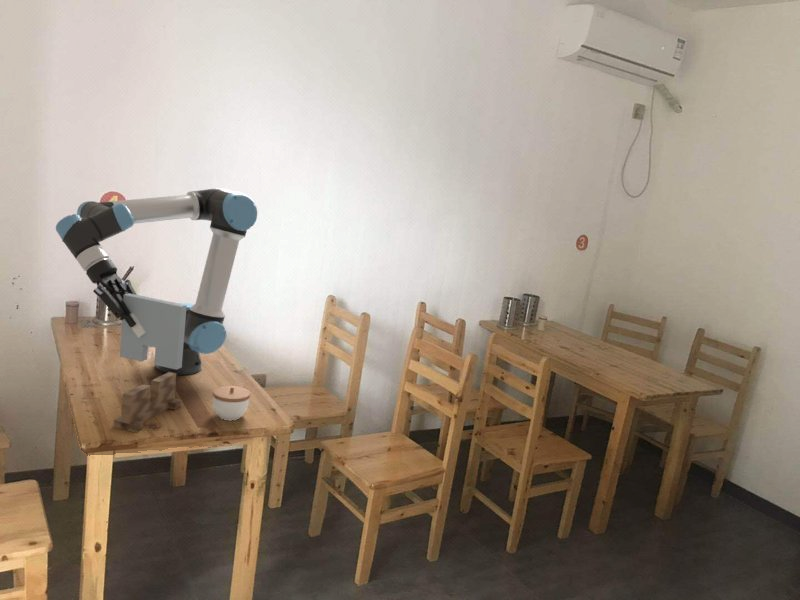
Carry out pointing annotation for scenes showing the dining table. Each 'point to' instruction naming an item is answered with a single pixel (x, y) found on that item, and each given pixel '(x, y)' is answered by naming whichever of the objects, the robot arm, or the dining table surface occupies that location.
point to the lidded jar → (230, 402)
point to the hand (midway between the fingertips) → (146, 333)
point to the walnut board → (147, 402)
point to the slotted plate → (154, 331)
